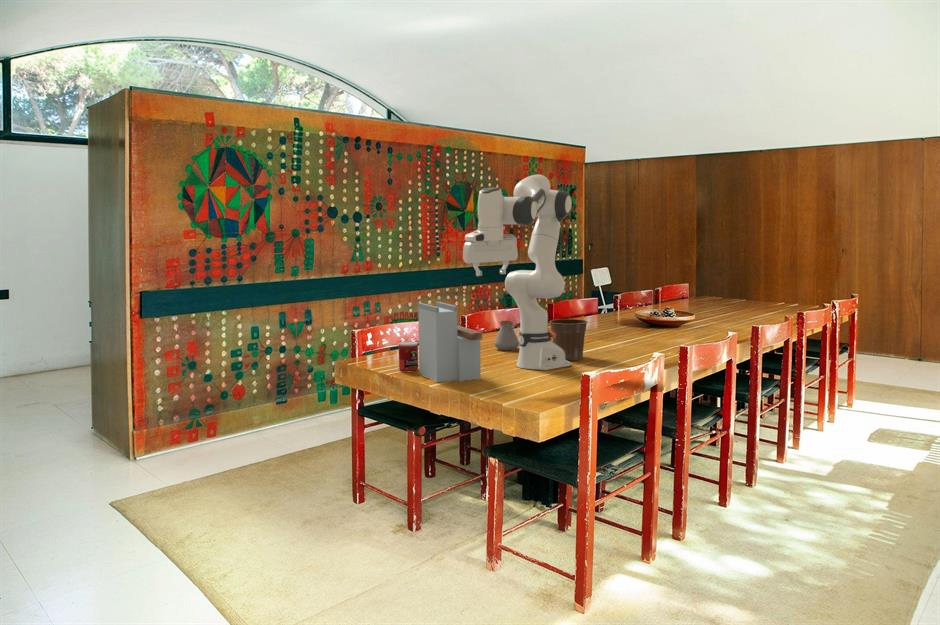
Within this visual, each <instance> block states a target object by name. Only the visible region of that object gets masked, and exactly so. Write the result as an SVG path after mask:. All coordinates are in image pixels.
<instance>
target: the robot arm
mask: <svg viewBox="0 0 940 625" xmlns="http://www.w3.org/2000/svg"><path fill="white" fill-rule="evenodd" d="M572 202H573V201H572V196H571V195H570V193H569V192H568V191H564V190H555V189H551V182H550V180H549V179H548V177H546V176H545V175H543V174H539V173H537V174H532V175H529V176H526V177H525V178H523V179H521V180H520V181H518V182H517V184H516V185H515V187H514V189H513V196H504V195H503V192H502V189H501V188H500V187H494V186H493V187H484V188H482V189H481V190H479V193H478V199H477V218H478V222H477V229H476V230H474V231H472V232H470V233H466V234H465V236H464V241H465V242H464V244H463V247H462V248H463V249H462V260H463V262H464V263H465V264H472V267H473V268H474V270H475V276H476V277H482V276H483V271H482V270H480V268H479V266H480V264H481V263H482V264H483V263H494V262H496V263H498V262H502V264H503V265H502V267H501V268H499V275H506V274H507V270H506V269H508V266H509V265H510V264H509V262H512V261H517V260H518V257H519V254H518V253H519V252H518V246H517V243H518V241H517V240H518V238H517V237H516V235H514V234H513V233H509V234H507V233H506V234H504V225H520V226H526V227H527V226H530V225H532V224H533V223H534V221H535V220H536V219H537V220H536V222H535V224H534V227H533V229H532V232H531V237H530V241H529V246H528V248H527V249H528V250H527V256H528V258H529V260H531V262H532V263H534V264H535V270H531V269H530V270H528V269H526V270H525V269H519V270H514V271H510V272H509V273H508V274H507V276H506V277H505V280H504V287H505V291H506V292H507V293H508V294H509V295H510V296H511V297H512V299H513V300H514V302H515V304H516V305H517V309H518V312H519V323H520V326H519V327H520V328H519V329H520V331H519V333H518V334H519V335H518V337H519V338H518V341H519V350H518V357H517V362H516V365H515V366H517V368H520V369H527V370H541V371H542V370H543V371H548V370H549V371H550V370H553V369H559V368H564V367H569V366H572V363H571V362H570V360H567V359H565V353H564V351H563V349H562V348H560V347H559V346H558V345H557V344H555V343H554V342H553V338H555V337H556V333H552V332H550V331H548V330H549V329H548V327H549V326H548V325H549V324H548V322H549V321H548V320H549V318H548V317H549V315H548V312H547V311H546V309H545V308H543V307H542V306H541V305H540V304H539V302H538V299H554V298H558V297H561V295H562V294H563V293H564V290H565V287H566V286H565V285H566V284H565V279H564V277H563V275H562V274H561V273H560V272H559V271H558V269H557V267H556V259H555V258H556V254H557V253H556V252H557V248H558V244H559V237H560V231H561V230H560V228H561V222H562V221H563V220H565V218H567V216H568V215H569V214H570V212H571V210H572Z"/></svg>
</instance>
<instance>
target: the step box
mask: <svg viewBox="0 0 940 625" xmlns="http://www.w3.org/2000/svg"><path fill="white" fill-rule="evenodd" d="M417 304H418V305H417V308H418V309H417V310H418V313H417V314H418V371H419V375H421V374H422V375H421V376H423V375H424V376H423V377H425V376H426V377H425V378H427V377H428V378H427V379H429V378H430V379H429V380H431V379H432V380H431V381H433V380H434V381H433V382H435V381H436V382H435V383H437V382H438V383H442V382H441V381H447V382H452V381H451V380H455V381H458V380H459V381H458V382H465V380H467V381H473V380H472V379H475V380H481V378H482V377H481V376H482V375H481V372H482V371H481V368H482V366H481V340H468V339H465V338H462V337H459V336H457V325H458V306H457V305H454V304H450V303H444V302H441V301H435V306H434V305H430V304H427V303H422V302H418V303H417Z"/></svg>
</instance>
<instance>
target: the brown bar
mask: <svg viewBox="0 0 940 625" xmlns="http://www.w3.org/2000/svg"><path fill="white" fill-rule="evenodd" d="M457 336H459V337H462V338H465V339H468V340H480V341H482V340H483V332H481V331H479V330H474V329H471V328H468V327H464V326H463V325H462V326H461V325H458V324H457Z"/></svg>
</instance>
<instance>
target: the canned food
mask: <svg viewBox="0 0 940 625" xmlns="http://www.w3.org/2000/svg"><path fill="white" fill-rule="evenodd" d="M398 369H399V371H400V370H401V371H400V372H402V371H414V372H417V371H419V342H418V341H401V342H398ZM416 370H417V371H416Z"/></svg>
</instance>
